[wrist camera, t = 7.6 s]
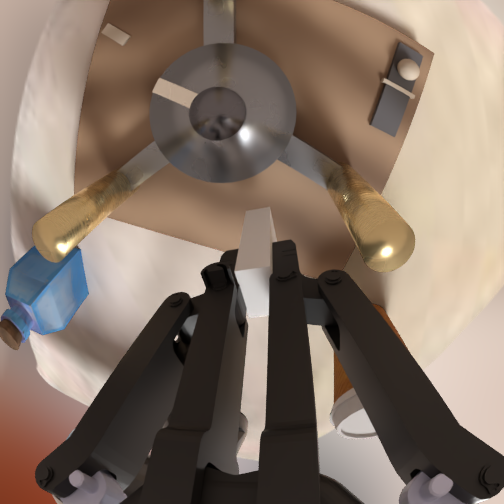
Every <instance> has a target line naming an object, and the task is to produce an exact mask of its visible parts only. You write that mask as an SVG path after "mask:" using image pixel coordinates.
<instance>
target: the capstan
mask: <svg viewBox="0 0 504 504" xmlns="http://www.w3.org/2000/svg"><path fill="white" fill-rule="evenodd" d="M203 26H204V46H201V47H198V48H196V49H193V50H191V51H189V52H187V53H186V54H184V55H182V56H181V57H179V58H178V59H177V60H175V61H174V62H173V63H172V64H171V65H170V66H169V67H168V68H167V69H166V70H165V72H164V73H163V74H162V76H161V77H160V78H159V79H158V81H157V83H156V85H155V87H154V89H153V91H152V92H153V94H152V98H151V102H150V110H149V117H150V126H151V131H152V134H153V137H154V140H155V141H154V142H152V143H151V144H150V145H148V146H147V147H146V148H145V149H143V150H142V151H141V152H140V153H138V154H137V155H136V156H135V157H133V158H132V159H131V160H130V161H129V162H127V163H126V164H125V165H124V166H121V167H119V168H117V169H115V170H114V171H112V172H110V173H109V174H107V175H105V176H104V177H102V178H100V179H99V180H97V181H95V182H94V183H92V184H91V185H89V186H87V187H86V188H84V189H83V190H81V191H80V192H78V193H77V194H75V195H74V196H72V197H71V198H69V199H68V200H66V201H65V202H63V203H62V204H60V205H59V206H58V207H56V208H55V209H53V210H52V211H51V212H49V213H48V214H46V215H45V216H44V217H42V218H41V219H40V220H38V221H37V222H36V223H35V224H34V226H33V229H32V237H33V241H34V244H35V246H36V248H37V250H38V251H39V253H40V254H41V255H42V256H43V257H44V258H45V259H47V260H48V261H50V262H54V263H57V262H60V261H62V260H63V259H64V258H65V257H66V256H67V255H68V253H69V252H70V251H71V250H72V249H73V248H74V247H75V246H77V245H78V244H79V243H80V242H81V241H82V240H83V239H84V238H85V237H86V236H87V235H88V234H89V233H90V232H91V231H92V230H93V229H94V228H95V227H96V226H98V225H99V224H100V223H101V222H102V221H103V220H104V219H105V218H106V217H107V216H109V215H110V214H111V213H112V212H113V211H114V210H115V209H117V208H118V207H119V206H120V205H121V204H122V203H124V202H125V201H126V200H127V199H128V198H129V197H131V196H132V195H133V194H134V193H135V192H136V191H137V190H138V188H139V186H140V184H141V183H142V182H144V181H145V180H146V179H148V178H149V177H150V176H152V175H153V174H154V173H156V172H157V171H159V170H160V169H161V168H163V167H164V166H166V165H167V164H168V163H171V164H172V165H173V166H174V167H176V168H177V169H178V170H180V171H181V172H183V173H185V174H186V175H188V176H191V177H193V178H195V179H198V180H202V181H206V182H212V183H232V182H237V181H242V180H245V179H248V178H251V177H253V176H255V175H257V174H259V173H261V172H262V171H264V170H265V169H267V168H268V167H269V166H271V165H272V164H273V163H274V162H275V161H276V160H279V161H281V162H282V163H284V164H286V165H288V166H289V167H291V168H293V169H294V170H296V171H298V172H299V173H301V174H303V175H304V176H306V177H307V178H309V179H311V180H312V181H314V182H315V183H317V184H319V185H320V186H322V187H323V188H325V189H326V190H327V192H328V193H329V195H330V197H331V199H332V200H333V202H334V204H335V206H336V208H337V209H338V211H339V213H340V215H341V217H342V219H343V221H344V222H345V224H346V226H347V228H348V230H349V232H350V234H351V236H352V238H353V240H354V242H355V244H356V246H357V248H358V250H359V252H360V254H361V256H362V258H363V260H364V262H365V263H366V265H367V266H368V267H369V268H370V269H372V270H374V271H377V272H390V271H393V270H395V269H397V268H399V267H401V266H402V265H403V264H405V263H406V262H407V260H408V259H409V258H410V256H411V255H412V253H413V250H414V247H415V235H414V232H413V230H412V229H411V227H410V226H409V225H408V224H407V223H406V222H405V221H404V219H403V218H402V217H401V216H400V215H399V214H398V213H397V212H396V211H395V210H394V209H393V208H392V207H391V205H390V204H389V203H388V202H387V201H386V200H385V199H384V198H383V197H382V196H381V195H380V194H379V193H378V192H377V191H376V190H375V189H374V188H373V187H372V186H371V185H370V184H369V183H368V182H367V181H366V180H365V179H364V178H362V177H361V176H360V175H359V174H358V173H357V172H356V171H355V170H354V169H353V168H352V167H351V166H350V165H348V164H346V163H344V162H336V161H335V160H333V159H332V158H330V157H329V156H327V155H326V154H324V153H323V152H321V151H320V150H318V149H316V148H315V147H313V146H312V145H310V144H308V143H307V142H305V141H304V140H302V139H300V138H299V137H297V136H295V135H294V134H293V132H294V127H295V123H296V113H297V112H296V101H295V96H294V92H293V89H292V87H291V84H290V82H289V80H288V78H287V77H286V75H285V74H284V72H283V71H282V70H281V68H280V67H279V66H278V65H277V64H276V63H275V62H274V61H273V60H271V59H270V58H269V57H267V56H266V55H265V54H263V53H261V52H259V51H257V50H255V49H253V48H250V47H247V46H244V45H240V44H237V43H236V0H204V19H203Z"/></svg>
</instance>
